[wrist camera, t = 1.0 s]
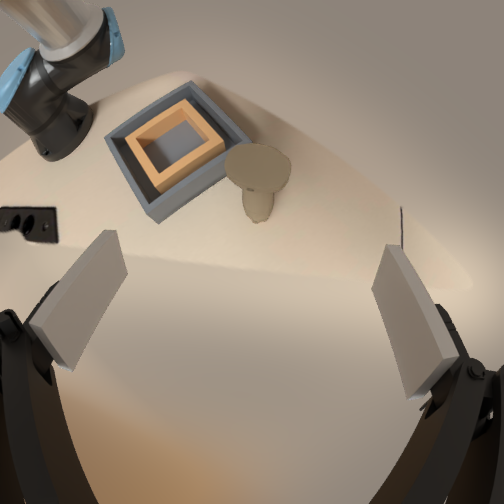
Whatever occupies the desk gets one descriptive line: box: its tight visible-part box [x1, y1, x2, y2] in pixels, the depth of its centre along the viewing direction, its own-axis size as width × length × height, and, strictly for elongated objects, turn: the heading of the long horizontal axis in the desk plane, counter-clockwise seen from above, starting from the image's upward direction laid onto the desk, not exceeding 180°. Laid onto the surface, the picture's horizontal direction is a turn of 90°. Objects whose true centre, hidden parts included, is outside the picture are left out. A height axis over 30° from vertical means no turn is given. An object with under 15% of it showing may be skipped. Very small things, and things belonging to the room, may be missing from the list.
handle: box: [224, 143, 291, 224], centre depth 33 cm, size 5×6×15 cm
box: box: [104, 81, 253, 224], centre depth 40 cm, size 18×18×5 cm
